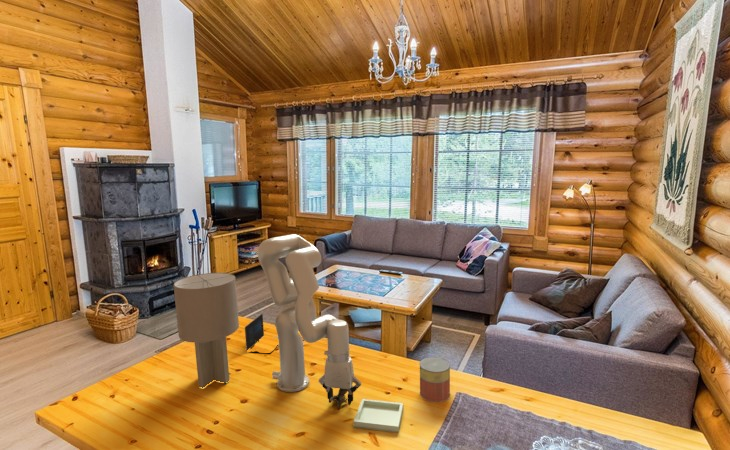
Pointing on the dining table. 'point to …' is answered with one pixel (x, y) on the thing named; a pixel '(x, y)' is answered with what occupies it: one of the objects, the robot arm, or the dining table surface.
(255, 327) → the laptop
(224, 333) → the lamp
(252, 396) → the dining table surface
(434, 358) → the canned food
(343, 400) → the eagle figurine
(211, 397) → the dining table surface
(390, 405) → the tray
